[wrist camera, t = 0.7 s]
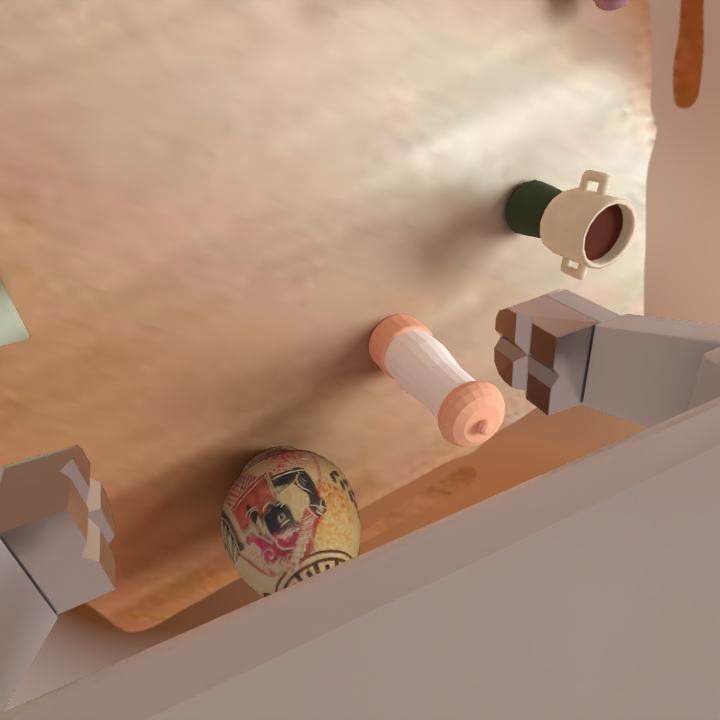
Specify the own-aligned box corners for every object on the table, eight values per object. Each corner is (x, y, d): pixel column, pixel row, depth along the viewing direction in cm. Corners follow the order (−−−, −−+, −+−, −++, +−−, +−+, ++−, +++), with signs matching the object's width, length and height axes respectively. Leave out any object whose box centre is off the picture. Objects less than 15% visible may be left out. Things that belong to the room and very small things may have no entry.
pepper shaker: (370, 317, 59) (460, 404, 44) (424, 310, 62) (527, 390, 47) (366, 371, 63) (449, 469, 48) (418, 362, 66) (512, 452, 50)
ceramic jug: (294, 400, 61) (415, 617, 37) (348, 472, 70) (472, 683, 46) (171, 482, 59) (215, 764, 35) (243, 545, 68) (315, 802, 45)
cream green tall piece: (538, 248, 65) (620, 283, 54) (492, 253, 62) (569, 291, 52) (557, 156, 59) (652, 176, 49) (508, 158, 57) (597, 179, 47)
